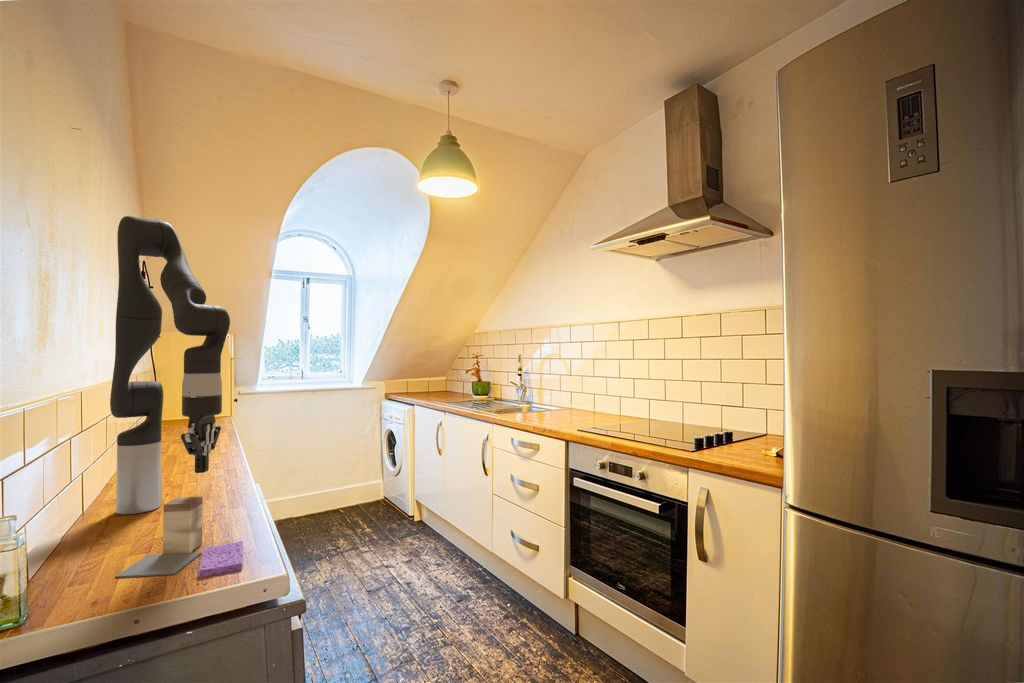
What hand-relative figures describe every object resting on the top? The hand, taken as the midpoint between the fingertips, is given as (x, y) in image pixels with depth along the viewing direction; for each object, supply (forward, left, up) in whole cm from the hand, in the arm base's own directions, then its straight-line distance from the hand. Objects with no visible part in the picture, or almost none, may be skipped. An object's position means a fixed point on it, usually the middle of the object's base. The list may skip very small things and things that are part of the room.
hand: (201, 472), depth 108 cm
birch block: (+7, 0, -14) cm, 16 cm away
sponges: (+15, +11, -15) cm, 23 cm away
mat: (+15, 0, -14) cm, 21 cm away
